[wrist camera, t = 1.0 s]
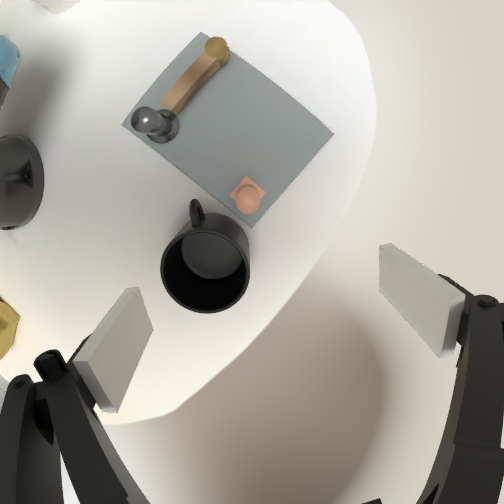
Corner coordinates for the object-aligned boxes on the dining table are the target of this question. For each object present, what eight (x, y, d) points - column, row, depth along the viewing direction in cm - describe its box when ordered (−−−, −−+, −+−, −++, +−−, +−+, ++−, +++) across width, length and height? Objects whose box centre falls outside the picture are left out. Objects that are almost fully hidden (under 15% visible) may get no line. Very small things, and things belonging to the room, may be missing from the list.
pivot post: (141, 131, 34) (116, 125, 26) (162, 104, 33) (141, 91, 25) (165, 150, 35) (145, 148, 27) (187, 123, 34) (172, 113, 26)
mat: (122, 124, 34) (121, 124, 33) (201, 32, 30) (201, 31, 30) (251, 227, 38) (251, 227, 38) (333, 134, 35) (334, 134, 34)
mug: (236, 186, 37) (233, 194, 28) (255, 274, 40) (258, 305, 32) (165, 202, 37) (142, 215, 28) (188, 287, 41) (174, 320, 32)
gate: (179, 116, 32) (170, 110, 28) (165, 105, 32) (154, 98, 28) (233, 57, 30) (231, 44, 26) (218, 47, 30) (214, 33, 25)
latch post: (229, 194, 37) (225, 204, 29) (246, 175, 36) (246, 179, 29) (249, 210, 38) (250, 224, 30) (265, 191, 37) (271, 200, 29)
